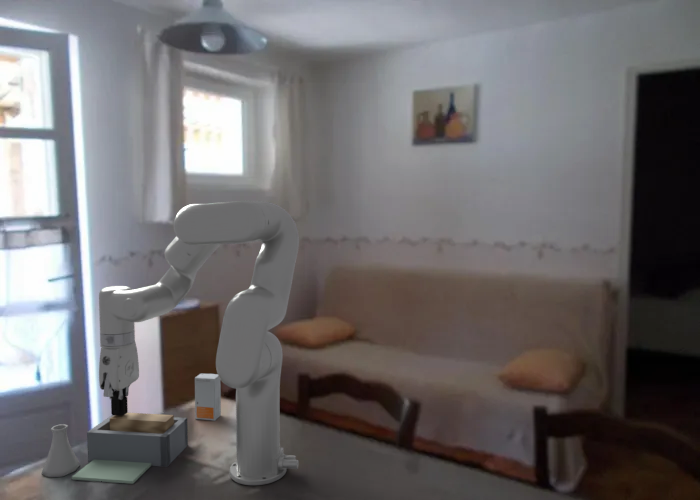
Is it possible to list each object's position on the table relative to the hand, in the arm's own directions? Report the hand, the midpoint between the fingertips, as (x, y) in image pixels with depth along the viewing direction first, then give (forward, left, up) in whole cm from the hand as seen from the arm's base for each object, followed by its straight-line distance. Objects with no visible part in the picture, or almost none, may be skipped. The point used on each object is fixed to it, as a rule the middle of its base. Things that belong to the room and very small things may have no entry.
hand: (119, 413), depth 127 cm
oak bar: (-6, 0, -5) cm, 8 cm away
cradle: (-6, 0, -9) cm, 11 cm away
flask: (+8, +10, -10) cm, 16 cm away
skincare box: (-13, -23, -10) cm, 28 cm away
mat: (-4, +10, -9) cm, 14 cm away
